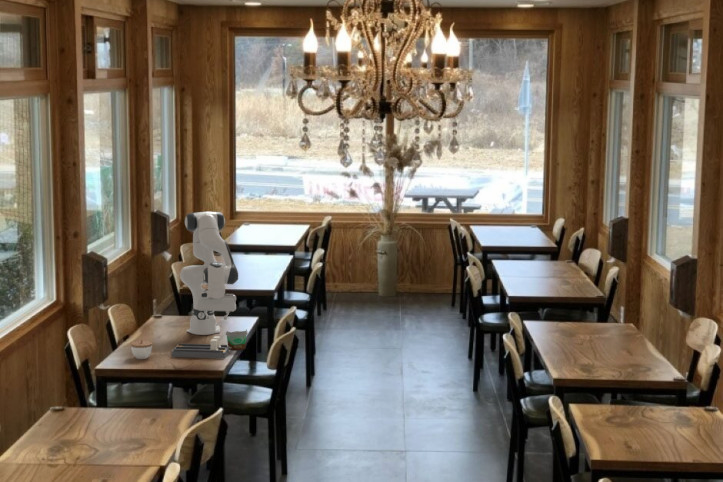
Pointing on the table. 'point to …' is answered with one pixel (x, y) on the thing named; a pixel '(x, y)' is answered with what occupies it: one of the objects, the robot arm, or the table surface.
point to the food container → (236, 340)
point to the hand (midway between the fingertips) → (216, 319)
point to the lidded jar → (141, 349)
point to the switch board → (199, 351)
